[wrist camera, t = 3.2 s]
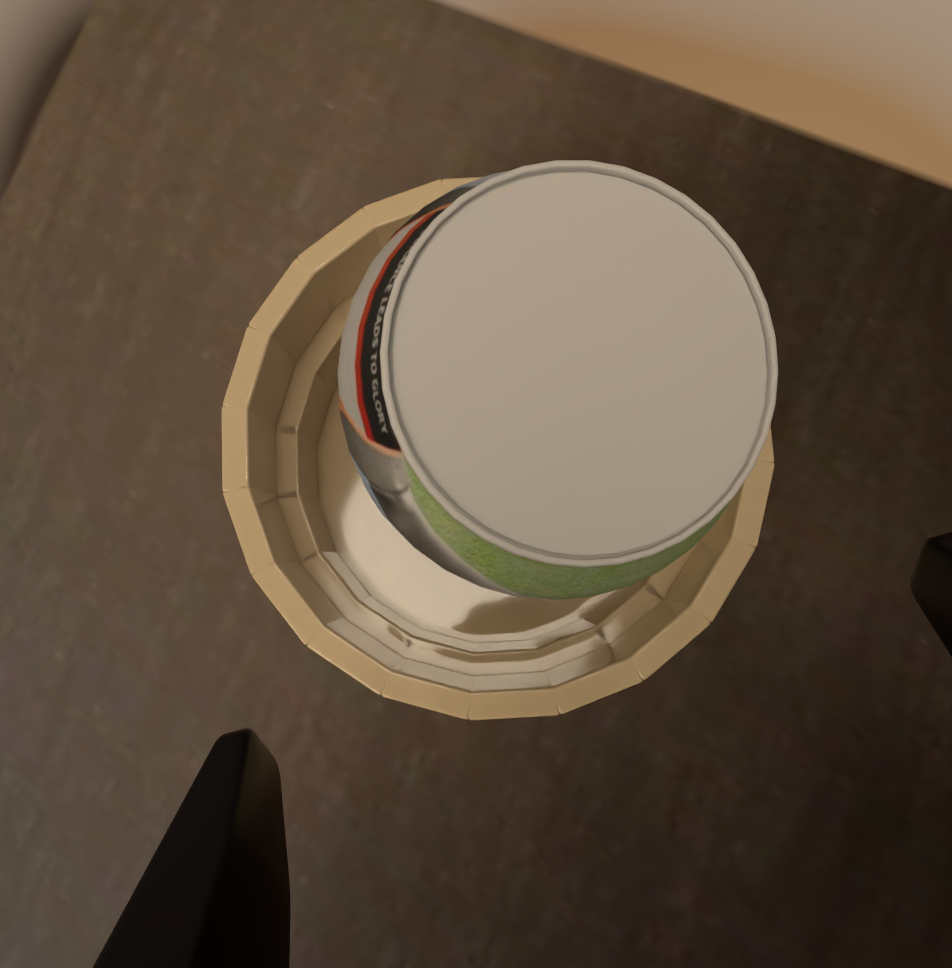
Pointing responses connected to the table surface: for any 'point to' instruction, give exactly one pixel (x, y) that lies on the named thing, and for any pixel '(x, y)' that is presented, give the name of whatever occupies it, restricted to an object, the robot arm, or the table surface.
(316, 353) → the bowl
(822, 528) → the table surface
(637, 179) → the beverage can
